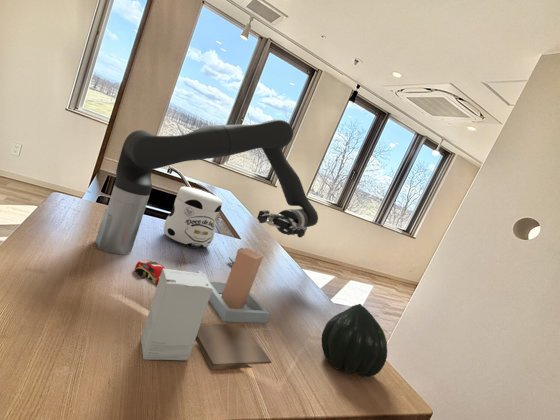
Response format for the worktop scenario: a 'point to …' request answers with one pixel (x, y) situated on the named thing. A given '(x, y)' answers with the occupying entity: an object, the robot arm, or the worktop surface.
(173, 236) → the milk container
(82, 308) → the worktop surface
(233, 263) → the pacifier
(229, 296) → the terracotta block
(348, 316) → the squash
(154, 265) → the race car
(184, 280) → the skincare box
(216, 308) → the grey channel
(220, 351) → the walnut board
